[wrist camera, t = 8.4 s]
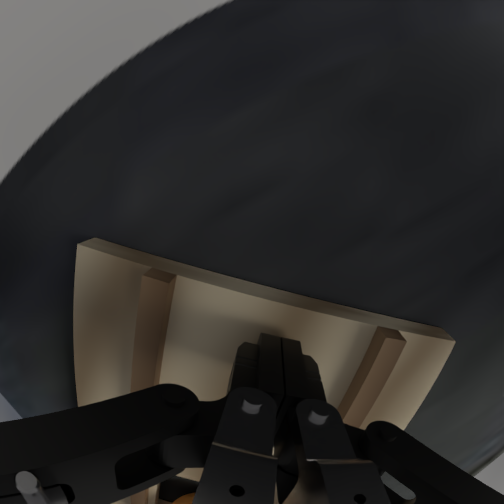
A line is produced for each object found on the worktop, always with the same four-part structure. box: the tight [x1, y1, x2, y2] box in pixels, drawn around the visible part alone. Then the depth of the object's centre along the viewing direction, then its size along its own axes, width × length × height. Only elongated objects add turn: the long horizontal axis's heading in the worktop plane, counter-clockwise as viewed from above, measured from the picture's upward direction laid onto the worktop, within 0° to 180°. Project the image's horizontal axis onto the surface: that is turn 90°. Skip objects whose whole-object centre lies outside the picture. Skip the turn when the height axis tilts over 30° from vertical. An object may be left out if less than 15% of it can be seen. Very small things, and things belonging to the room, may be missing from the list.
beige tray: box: [73, 238, 456, 504], centre depth 13 cm, size 17×22×4 cm
